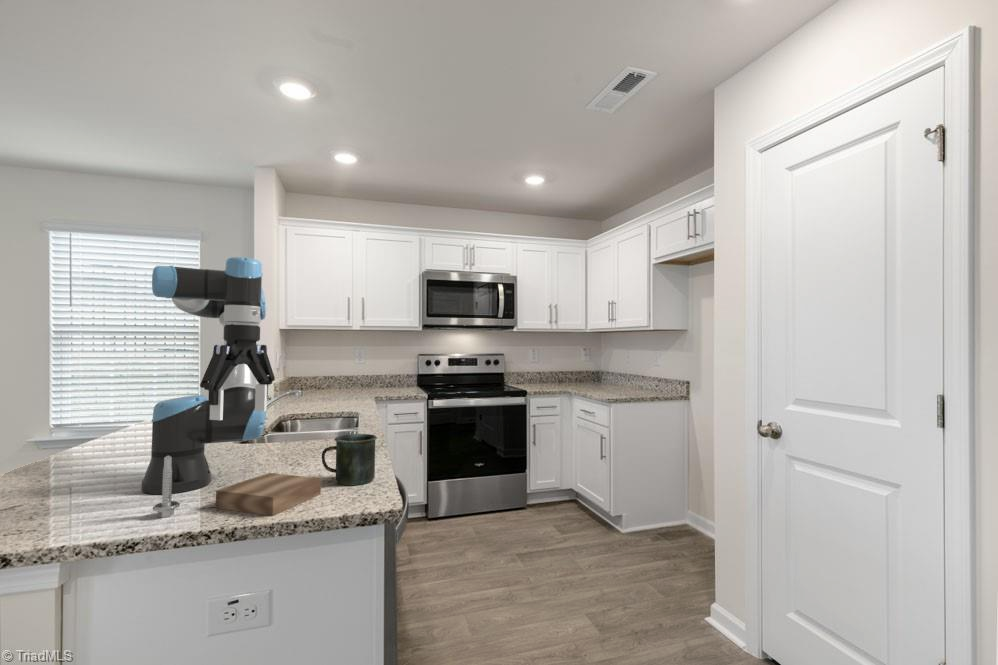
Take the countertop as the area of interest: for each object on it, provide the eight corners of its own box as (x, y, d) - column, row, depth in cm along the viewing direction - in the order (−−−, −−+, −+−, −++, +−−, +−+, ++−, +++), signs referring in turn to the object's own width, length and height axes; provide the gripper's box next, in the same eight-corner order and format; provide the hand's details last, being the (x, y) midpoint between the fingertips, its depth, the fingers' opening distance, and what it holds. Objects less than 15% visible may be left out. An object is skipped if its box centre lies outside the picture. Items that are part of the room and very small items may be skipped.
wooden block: (215, 508, 107) (216, 490, 107) (268, 488, 122) (269, 472, 122) (272, 515, 102) (273, 497, 102) (320, 494, 117) (320, 478, 117)
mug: (379, 483, 127) (380, 439, 127) (322, 490, 121) (323, 443, 121) (372, 473, 137) (373, 432, 137) (319, 479, 130) (320, 436, 131)
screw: (153, 514, 102) (179, 510, 105) (151, 521, 98) (179, 516, 101) (155, 454, 103) (181, 452, 105) (153, 459, 99) (181, 456, 101)
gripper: (212, 322, 96) (209, 425, 96) (291, 326, 121) (288, 408, 120) (182, 321, 98) (179, 423, 98) (266, 325, 122) (263, 407, 122)
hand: (239, 415), depth 109 cm, fingers open, 13 cm apart
